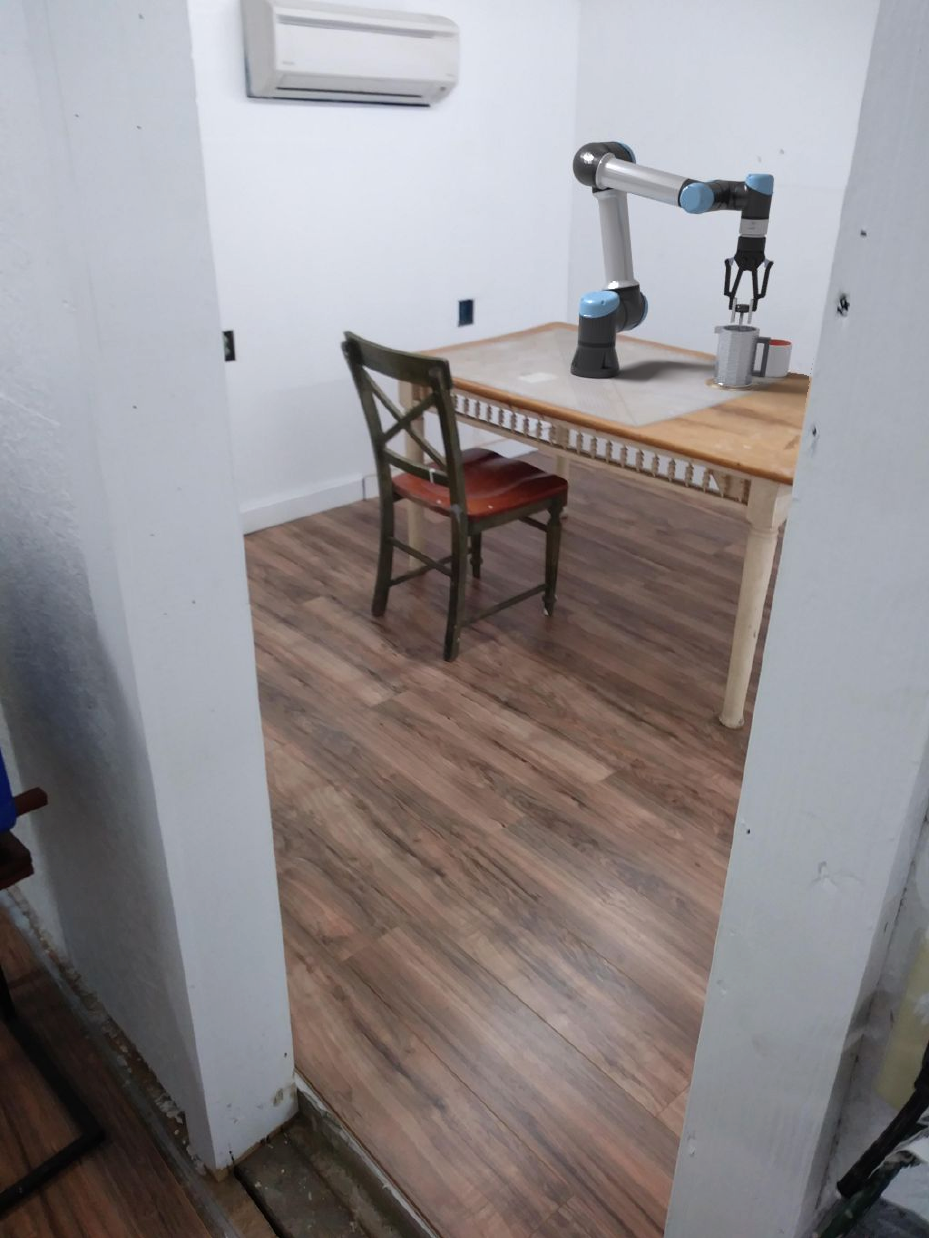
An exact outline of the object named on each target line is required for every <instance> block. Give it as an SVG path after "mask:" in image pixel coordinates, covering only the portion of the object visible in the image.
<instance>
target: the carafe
mask: <svg viewBox="0 0 929 1238" xmlns="http://www.w3.org/2000/svg"><path fill="white" fill-rule="evenodd" d="M738 326H739V324H725V325H715V327H714V332H713V333H714V334H718V337H717V338H718V339H717V347H716V353H715V354H716V355H715V360H714V361H715V364H714V370H713V376H712V378H713V380H714V381H713V383H714V384H715V385H717V386H719V387H724V388H732V389H742V388H748V387H751V385H752V381H754V377H755V378H763V379H765V374H766V368H767V361H768V355H769V348H770V341H771V339H772V337H770V336H760V331H761V329H760V327H759V328H758V327H756V326H753V325H752V326H751V325H748V324H746V325H743V324H742V330H741V332H738ZM758 343H763V344H764V349H763V356H762V363H761V369H760V370H754V368H755V361H756V354H757V348H758Z"/></svg>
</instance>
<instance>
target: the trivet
mask: <svg viewBox="0 0 929 1238" xmlns="http://www.w3.org/2000/svg"><path fill="white" fill-rule="evenodd" d="M713 381H714V380H713V377H712V378H707V379H706V380H704V384H705V385H706V386H708V387H710V388H713V389H716V390H722V391H730V392H749V391H755V390H758V389H759V388H760V387H761V385H760V383H759V382H757V381H755V380H753V381H752V385H751V387H748V388H742V389H732V388H724V387H719V386H717V385H715V384H714V383H713Z"/></svg>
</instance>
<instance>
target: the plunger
mask: <svg viewBox="0 0 929 1238" xmlns="http://www.w3.org/2000/svg"><path fill="white" fill-rule="evenodd" d="M749 307H750V304H748V303H737V304H736V308H735V312H736V313H739V319H738V320H739V321H738V325H739V326H738V332H741V330H742V325H743V322H744V314H747V313H748V314H749Z"/></svg>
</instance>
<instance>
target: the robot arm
mask: <svg viewBox="0 0 929 1238" xmlns="http://www.w3.org/2000/svg"><path fill="white" fill-rule="evenodd" d="M572 172H573V175H574V177H575V179H576V180H577V181H578V183H580V184H581V185H583V186H586V187H591V192H592V193H591V194H592V196H593V197H594V198H595V199H597V202H598V213H599V222H600V223H599V225H600V231H601V232H600V233H601V245H602V254H603V255H602V256H603V262H604V263H603V265H604V273H605V276H604V277H605V284H604V286H603V287H602V288H601V290H598V291H591V292H587V293H585V294H583V296H581V298H580V301H579V302H580V303H579V307H578V328H577V329H578V331H577V344H576V345H577V346H576V350H575V352H574V354H573V357H572V358H571V359H572V360H571V362H570V367H569V368H570V369H569V370H570V373H571V374H573V375H576V376H578V377H582V378H597V379H599V378H603V379H604V378H611V377H616V376H618V375H619V374H620V368H621V367H620V361H619V357H618V353H617V348H616V343H617V342H616V341H617V334H619V333H623V332H627V331H632V330H634V329H635V328H637V327H639V326H641V324H643V322H644V321H645V320H646V318H647V316H648V312H649V303H648V299H647V297H646V295H645V294H644V293H643V292H642V291H641V288H640V287H641V286H640V282H639V281H638V280H636V279H635V276H634V264H633V262H634V261H633V252H632V241H631V239H632V238H631V229H630V218H629V207H628V197H627V196H628V194H632V195H635V196H639V197H641V198H642V197H643V198H646V199H649V200H653V201H657V202H660V203H664V204H667V205H670V206H675V207H677V208H681V209H683V211H685V213H687V214H690V215H691V214H693V215H701V214H705V213H711V212H719V211H736V212H740V213H741V216H740V222H739V223H740V224H739V230H738V234H739V236H738V237H737V244H736V252H735V253H734V255H733V256H731V257H729V258H726V259H724V262H723V263H724V267H725V274H724V287H723V295H724V296H726V297H727V298H729V300H728V301H729V302H728V310H729V311H731V314H730V323H731V324H733V323H735V319H736V313H737V312H735V308H736V304H738V297H736V294H737V291H738V288H739V285H740V282H741V280H742V277H743V274H744V272H746V271H748V272H751V281H752V297H753V298H751V299H750V301H749V305H750V307H749V313H748V314H747V315H748V317H747V321H746V325H751V324H752V318H753V313H754V312H757V309H758V303H759V300H761V299H764V298H765V297H766V295H767V289H768V285H769V284H768V283H769V279H770V275H771V274H770V273H771V269H772V267H773V265H774V263H775V262H774V260H769V259H768V258H766V255H765V251H766V242H767V238H766V236H765V235H768V229H769V222H770V213H771V206H772V201H773V195H774V186H775V185H774V182H775V177H774V175H772V174H769V173H749V174H747V175H746V176H745V180H740V181H738V180H727V179H726V180H725V179H724V180H723V179H709V180H707V181H701V180H697V179H693V178H690V177H686V176H682V175H679V174H675V173H671V172H668V171H664V170H660V169H656V168H653V167H648V166H645V165H641V164H637V159H636V156H635V153H634V151H633V150H632V148H631V147H630V146H629V145H627V144H626V143H624V142H620V141H615V140H614V141H613V140H612V141H601V142H600V141H599V142H596V141H595V142H593V141H591V142H588V143H586V144H584V145H582V146H581V147H580V148H578V150H577V151H576V153H575V155H574V157H573V159H572ZM734 263H736V266H737V267H738V270H737V274H736V276H735V279H734V283H733V285H732V288H731V276H732V266H733V265H734ZM762 264H764V265H763V267H764V268H765V269H764V273H763V279H762V284H761V290H760V293H759V278H758V277H759V276H758V273H759V272H758V271H759V270H758V269H759V267H760V266H761V265H762ZM730 288H731V291H730Z"/></svg>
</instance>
